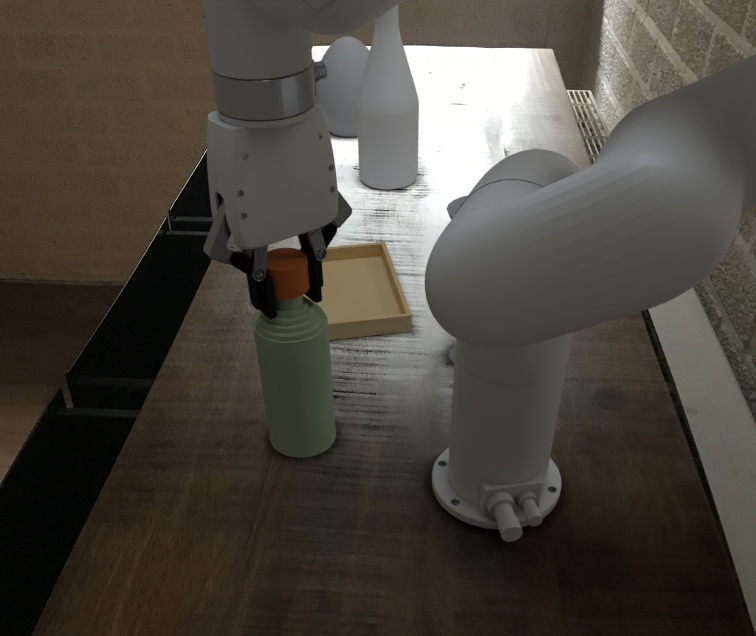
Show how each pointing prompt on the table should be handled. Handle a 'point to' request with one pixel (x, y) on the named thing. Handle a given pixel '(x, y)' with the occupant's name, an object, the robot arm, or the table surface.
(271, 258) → the cap
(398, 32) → the wine bottle
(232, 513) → the table surface
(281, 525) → the table surface
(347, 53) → the decorative egg
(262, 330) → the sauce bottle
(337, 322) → the tray
